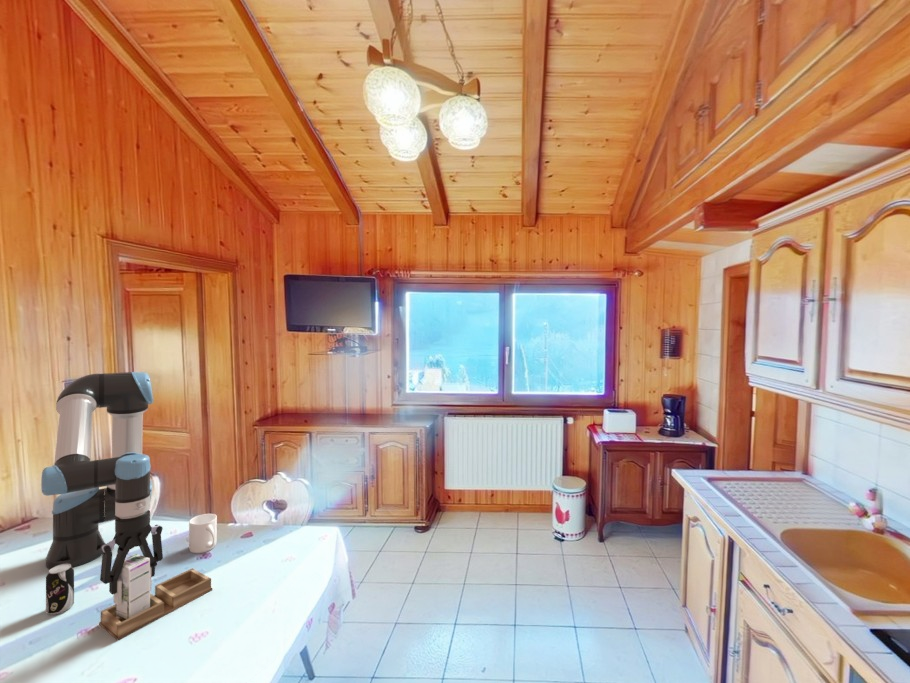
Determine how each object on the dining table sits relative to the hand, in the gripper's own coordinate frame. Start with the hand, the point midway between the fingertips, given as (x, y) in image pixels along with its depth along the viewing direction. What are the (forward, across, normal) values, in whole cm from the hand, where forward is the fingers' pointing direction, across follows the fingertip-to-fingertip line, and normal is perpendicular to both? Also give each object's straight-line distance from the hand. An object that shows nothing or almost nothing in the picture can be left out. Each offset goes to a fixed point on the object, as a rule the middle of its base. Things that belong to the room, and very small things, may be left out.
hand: (132, 596), depth 112 cm
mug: (+7, +30, +20) cm, 37 cm away
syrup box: (+5, 0, 0) cm, 5 cm away
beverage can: (+7, -8, +22) cm, 25 cm away
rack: (+7, +6, 0) cm, 9 cm away
